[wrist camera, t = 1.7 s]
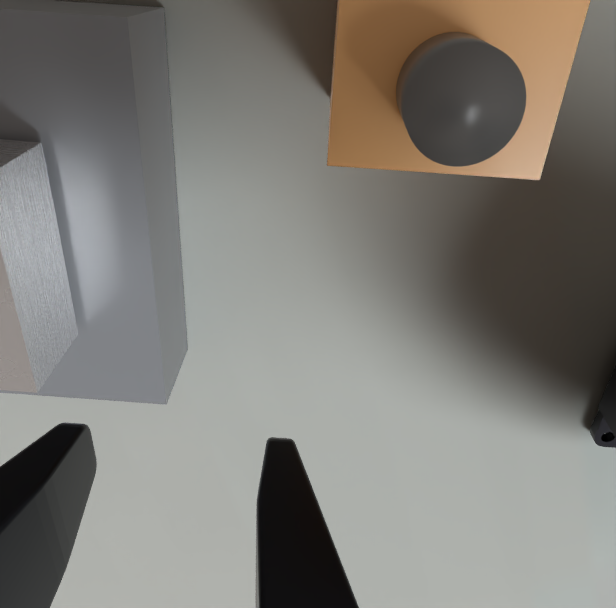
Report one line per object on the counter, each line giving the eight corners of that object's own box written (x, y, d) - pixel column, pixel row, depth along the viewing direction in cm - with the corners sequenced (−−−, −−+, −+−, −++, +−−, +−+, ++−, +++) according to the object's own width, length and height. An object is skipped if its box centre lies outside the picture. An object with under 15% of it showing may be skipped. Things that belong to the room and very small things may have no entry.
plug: (498, -16, 14) (633, 5, 8) (473, 108, 16) (567, 210, 9) (339, -26, 14) (341, -14, 8) (330, 98, 16) (326, 193, 9)
